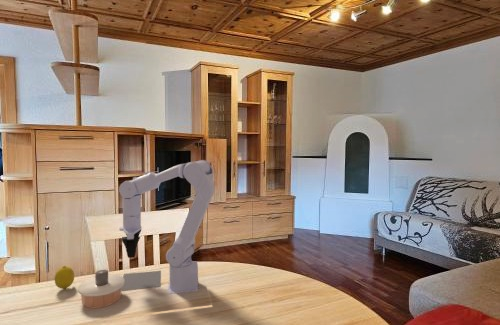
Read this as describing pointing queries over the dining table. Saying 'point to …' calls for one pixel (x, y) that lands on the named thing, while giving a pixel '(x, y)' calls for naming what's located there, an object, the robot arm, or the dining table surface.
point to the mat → (142, 280)
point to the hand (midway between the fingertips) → (132, 253)
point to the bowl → (101, 299)
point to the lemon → (64, 277)
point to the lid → (101, 284)
